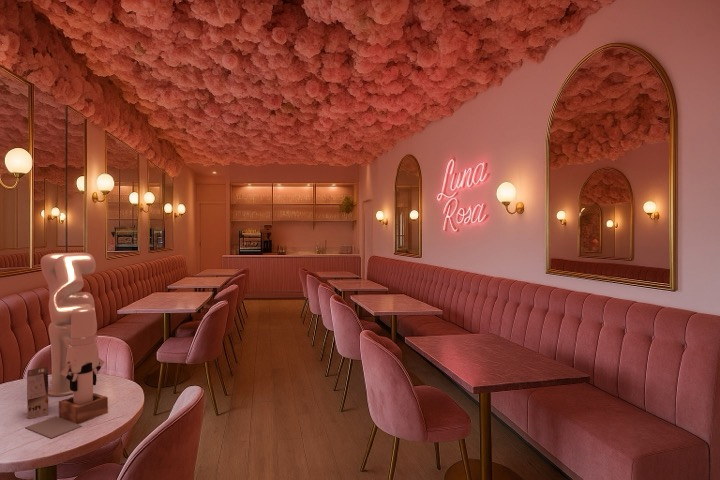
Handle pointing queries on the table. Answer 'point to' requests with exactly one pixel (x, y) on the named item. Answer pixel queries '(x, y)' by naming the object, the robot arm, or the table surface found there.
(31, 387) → the coffee box
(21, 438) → the table surface
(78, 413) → the frame
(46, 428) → the rubber mat
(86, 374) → the travel mug
